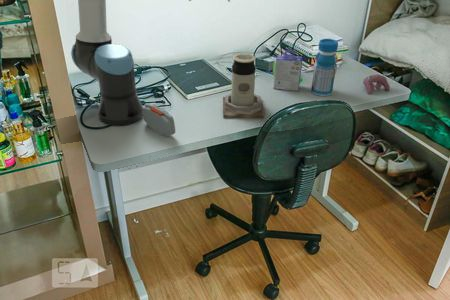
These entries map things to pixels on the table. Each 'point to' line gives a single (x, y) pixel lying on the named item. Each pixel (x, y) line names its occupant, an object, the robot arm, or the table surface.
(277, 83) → the ink cartridge box
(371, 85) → the pink arch
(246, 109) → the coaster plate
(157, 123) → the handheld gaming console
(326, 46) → the beverage bottle
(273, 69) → the puzzle toy
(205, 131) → the table surface
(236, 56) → the travel mug
